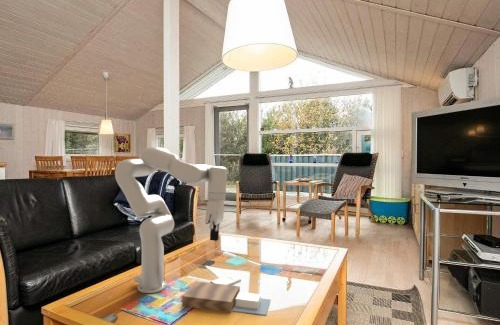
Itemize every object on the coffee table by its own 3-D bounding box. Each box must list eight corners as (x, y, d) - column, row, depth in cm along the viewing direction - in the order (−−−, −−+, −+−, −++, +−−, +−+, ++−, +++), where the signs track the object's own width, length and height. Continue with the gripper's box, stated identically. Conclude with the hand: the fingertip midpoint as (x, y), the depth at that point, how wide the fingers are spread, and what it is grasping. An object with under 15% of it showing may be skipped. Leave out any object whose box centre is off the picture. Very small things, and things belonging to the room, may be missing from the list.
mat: (232, 311, 115) (232, 310, 115) (240, 296, 127) (240, 295, 127) (265, 315, 112) (266, 314, 112) (270, 300, 124) (270, 299, 124)
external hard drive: (210, 284, 139) (229, 276, 148) (221, 290, 133) (241, 281, 143) (210, 281, 139) (229, 273, 148) (221, 286, 133) (241, 278, 142)
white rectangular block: (235, 306, 118) (235, 298, 118) (239, 299, 124) (239, 291, 124) (257, 309, 116) (257, 301, 116) (260, 301, 122) (260, 294, 122)
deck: (182, 305, 118) (182, 296, 118) (195, 290, 132) (196, 281, 132) (230, 312, 114) (231, 302, 114) (239, 295, 128) (239, 286, 128)
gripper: (213, 193, 131) (211, 234, 132) (201, 197, 116) (198, 244, 117) (230, 194, 129) (228, 236, 130) (219, 199, 115) (216, 246, 115)
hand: (214, 239), depth 123 cm, fingers closed
